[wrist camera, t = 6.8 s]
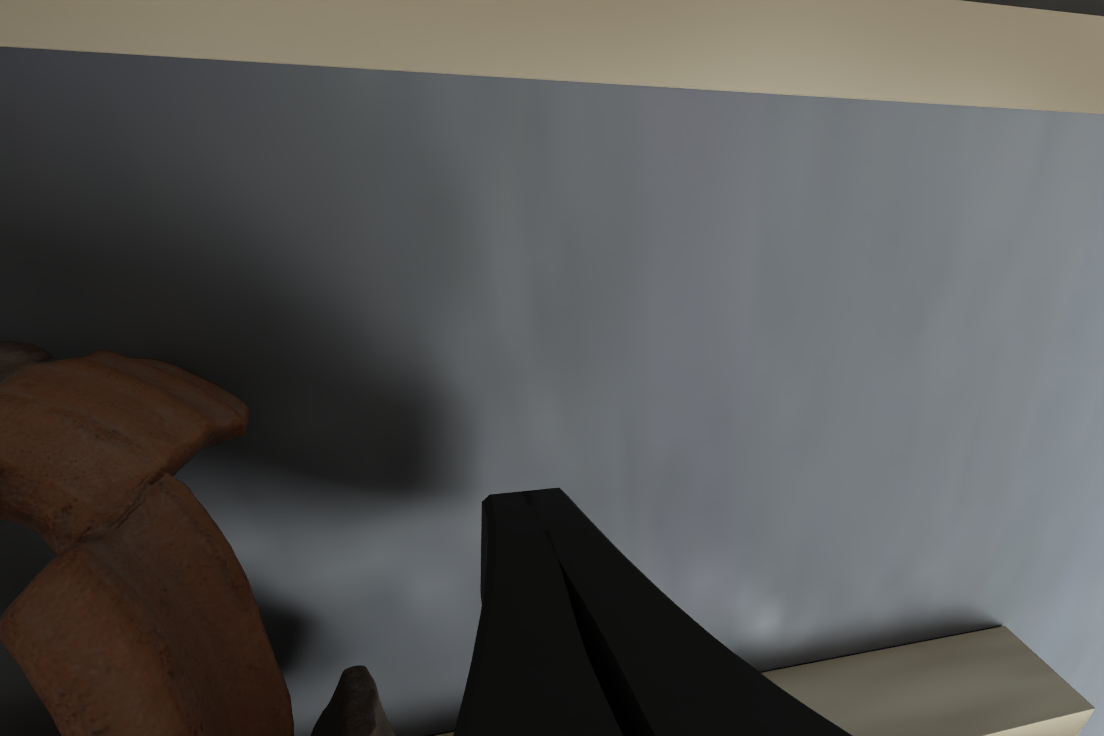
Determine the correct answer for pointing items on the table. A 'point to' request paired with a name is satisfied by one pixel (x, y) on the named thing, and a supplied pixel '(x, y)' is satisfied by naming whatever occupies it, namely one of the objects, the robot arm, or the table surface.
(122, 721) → the pottery mug
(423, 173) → the table surface
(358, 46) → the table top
